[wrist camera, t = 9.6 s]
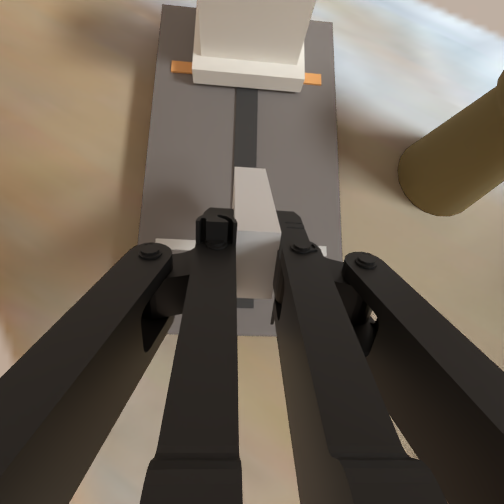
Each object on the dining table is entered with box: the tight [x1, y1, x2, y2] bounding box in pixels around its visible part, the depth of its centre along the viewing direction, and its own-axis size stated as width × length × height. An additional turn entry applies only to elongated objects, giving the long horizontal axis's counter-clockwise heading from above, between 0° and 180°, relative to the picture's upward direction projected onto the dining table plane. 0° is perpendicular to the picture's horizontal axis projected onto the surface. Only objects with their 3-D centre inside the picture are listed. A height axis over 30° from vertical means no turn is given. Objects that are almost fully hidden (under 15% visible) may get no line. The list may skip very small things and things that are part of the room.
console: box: [138, 4, 342, 336], centre depth 22 cm, size 22×12×2 cm, turn 179°
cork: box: [398, 70, 504, 216], centre depth 19 cm, size 6×6×11 cm
